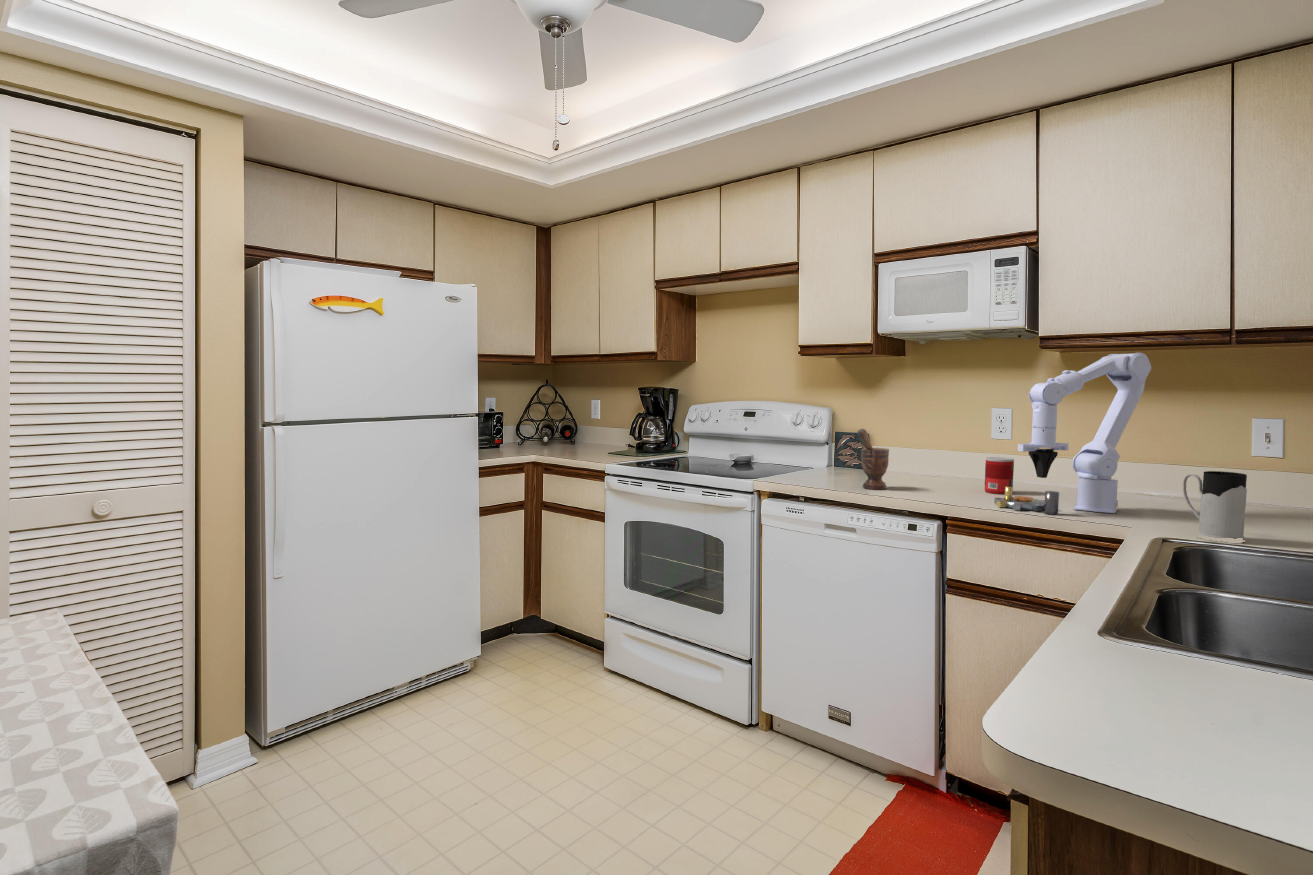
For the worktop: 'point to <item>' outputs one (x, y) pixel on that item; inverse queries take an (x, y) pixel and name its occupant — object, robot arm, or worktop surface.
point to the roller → (1051, 502)
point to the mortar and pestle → (873, 462)
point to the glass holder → (1220, 504)
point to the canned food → (998, 474)
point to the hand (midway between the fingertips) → (1041, 477)
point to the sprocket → (1019, 502)
